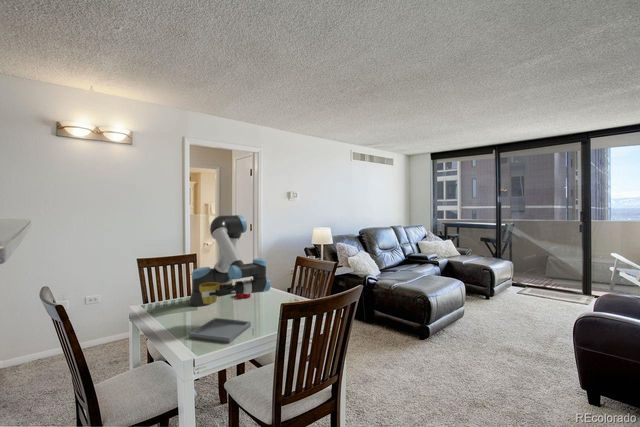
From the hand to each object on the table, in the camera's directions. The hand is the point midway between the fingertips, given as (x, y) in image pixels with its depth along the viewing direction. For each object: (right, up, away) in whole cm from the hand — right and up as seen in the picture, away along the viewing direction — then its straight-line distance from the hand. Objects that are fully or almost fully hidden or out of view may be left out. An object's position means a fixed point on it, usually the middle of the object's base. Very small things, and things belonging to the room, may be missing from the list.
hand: (201, 292), depth 170 cm
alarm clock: (+8, -18, +57) cm, 60 cm away
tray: (+13, -19, -6) cm, 24 cm away
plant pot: (+4, -6, +2) cm, 8 cm away
